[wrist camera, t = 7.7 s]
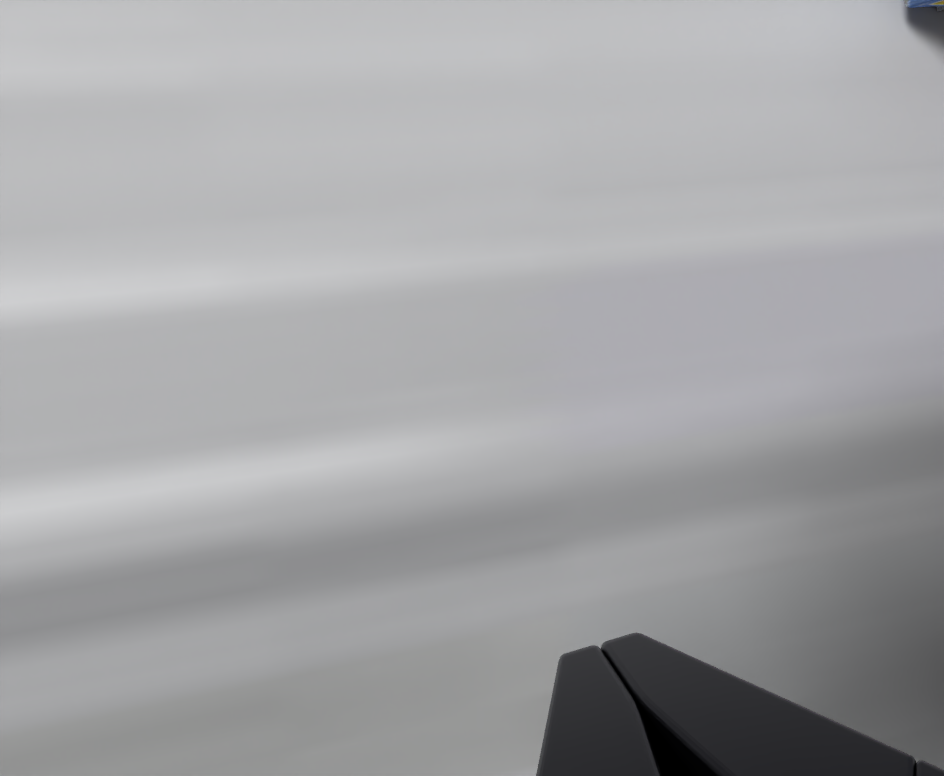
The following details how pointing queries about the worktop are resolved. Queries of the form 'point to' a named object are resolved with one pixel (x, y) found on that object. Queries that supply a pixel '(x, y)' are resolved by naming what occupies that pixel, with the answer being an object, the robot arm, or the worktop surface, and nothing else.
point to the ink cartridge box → (923, 3)
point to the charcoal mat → (940, 8)
